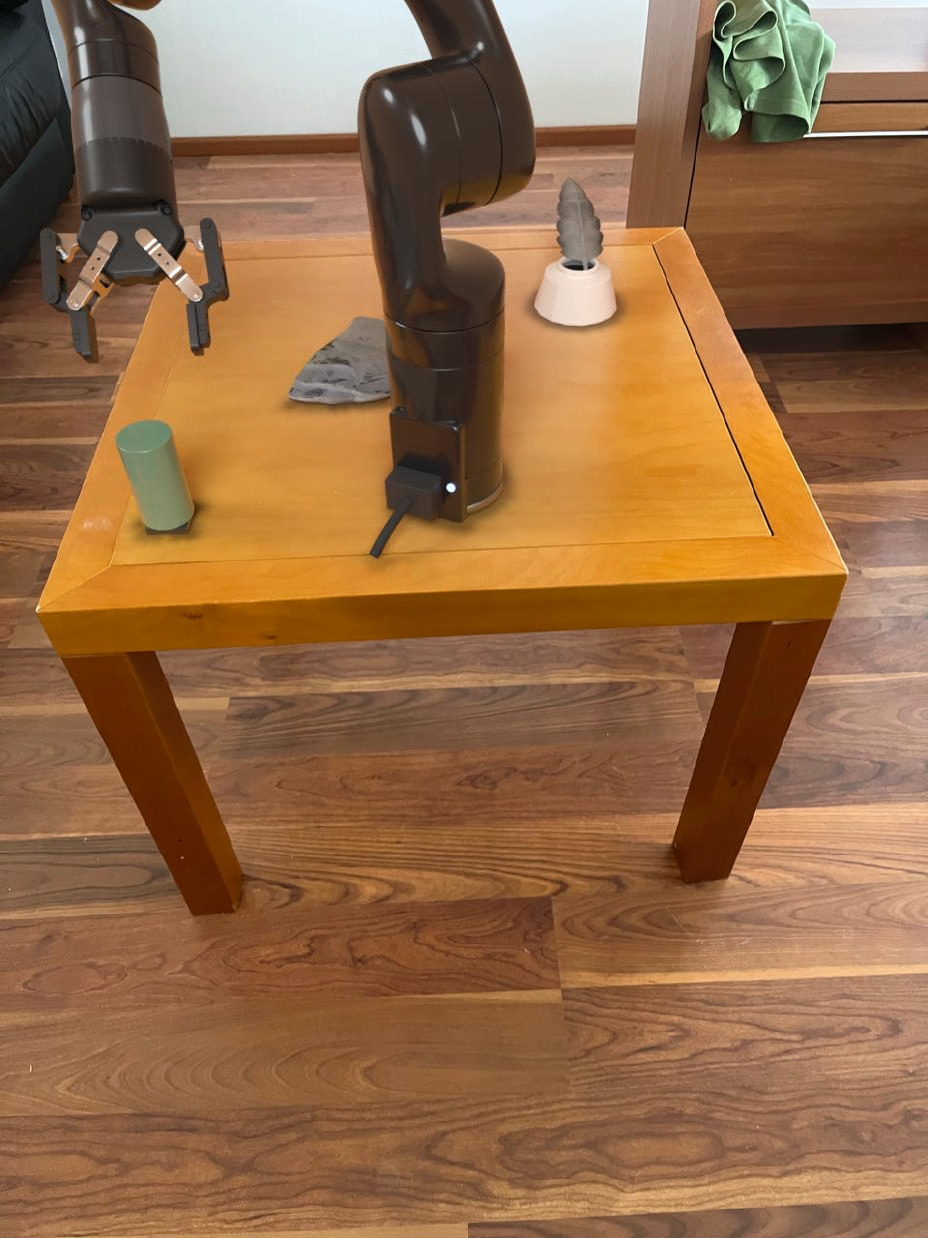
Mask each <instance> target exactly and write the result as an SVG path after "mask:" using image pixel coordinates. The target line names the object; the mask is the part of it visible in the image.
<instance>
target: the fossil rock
mask: <svg viewBox="0 0 928 1238" xmlns="http://www.w3.org/2000/svg"><path fill="white" fill-rule="evenodd" d="M287 397H288V399H289V400H290V401H294V402H298V403H303V404H304V403H306V404H307V403H308V404H314V403H317V404H319V403H321V404H327V405H342V404H350V403H358V404H359V403H360V404H362V403H363V404H364V403H369V402H376V401H381V400H385V399H388V398H390V388H389V376H388V363H387V351H386V337H385V325H384V319H380V318H374V317H368V316H357V317H354V318H353V319H352V320H351V321H350V322H349V325H348V326H347V328H346V329H345V330H344V331H343V332H341V333H340V334H339V335H337V336H335V337H334V338H333V339H332V340H330V341H329V342H327V343H326V344H325V345H323V346H322V347H321V348H319V349H318V350H316V352H314V354H313V355H312V357H311V358H310V359H309V360H308V361H307V362H306V363H305V364H304V366H303V367H302V369H301V370H300V372H299V373H298V374H297V375H296V376H295V378H294V380H293V382H292V385H291V388H290V389H289V391H288V395H287Z"/></svg>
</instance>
